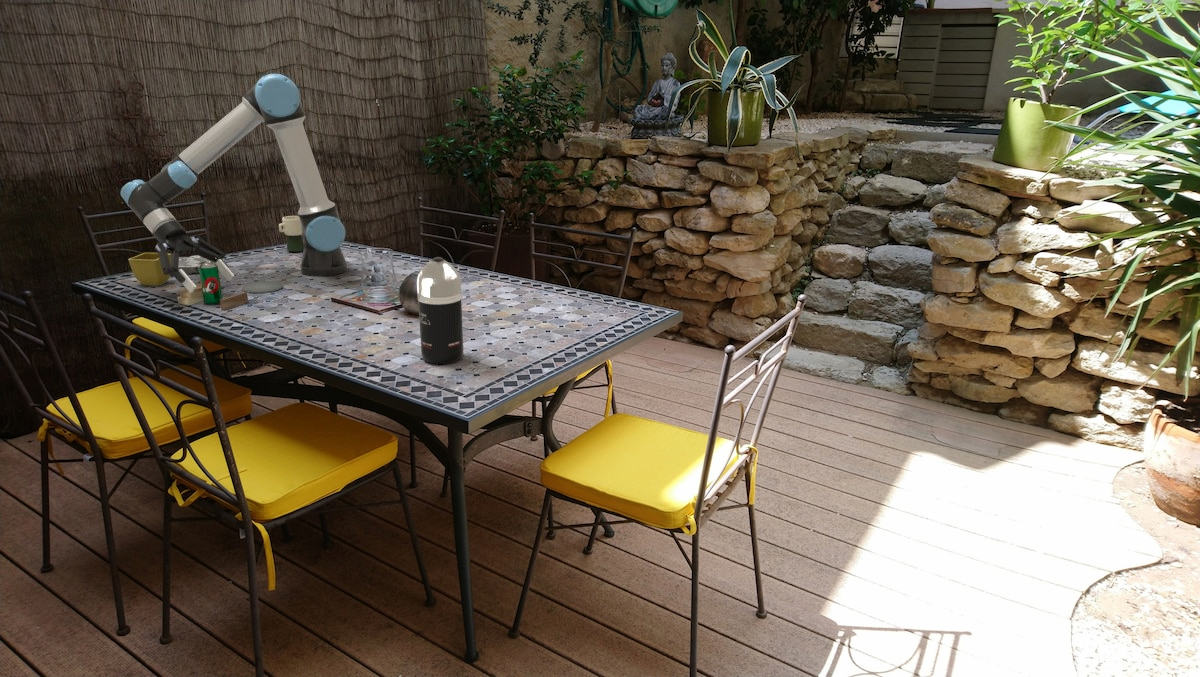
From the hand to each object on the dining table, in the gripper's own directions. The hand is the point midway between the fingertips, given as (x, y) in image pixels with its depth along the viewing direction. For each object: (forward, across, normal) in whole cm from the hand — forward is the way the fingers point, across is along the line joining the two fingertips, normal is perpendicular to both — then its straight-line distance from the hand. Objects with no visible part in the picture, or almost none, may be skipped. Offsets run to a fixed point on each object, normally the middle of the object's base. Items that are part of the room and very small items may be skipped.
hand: (213, 284), depth 213 cm
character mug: (-14, -63, -23) cm, 69 cm away
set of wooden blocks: (+3, 0, -5) cm, 6 cm away
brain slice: (-23, -27, -32) cm, 48 cm away
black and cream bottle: (+63, +12, +55) cm, 84 cm away
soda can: (+3, 0, -5) cm, 6 cm away
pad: (+4, -18, -4) cm, 19 cm away
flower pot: (-19, -8, -28) cm, 35 cm away
